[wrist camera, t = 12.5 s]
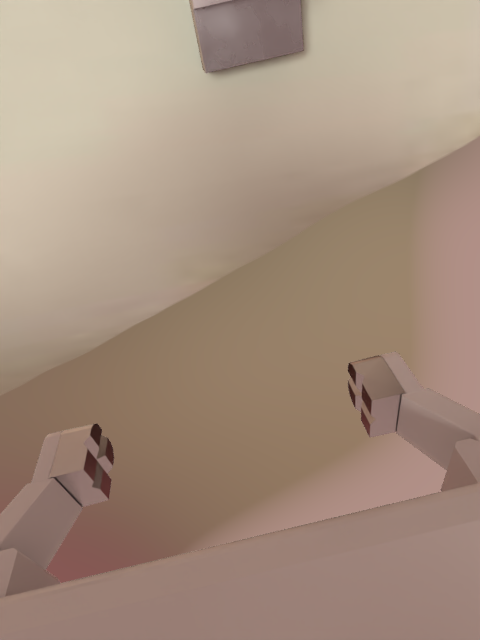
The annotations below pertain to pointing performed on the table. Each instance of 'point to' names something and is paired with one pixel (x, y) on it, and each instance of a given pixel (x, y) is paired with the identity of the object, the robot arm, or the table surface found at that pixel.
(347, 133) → the table surface
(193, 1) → the grey base with post
